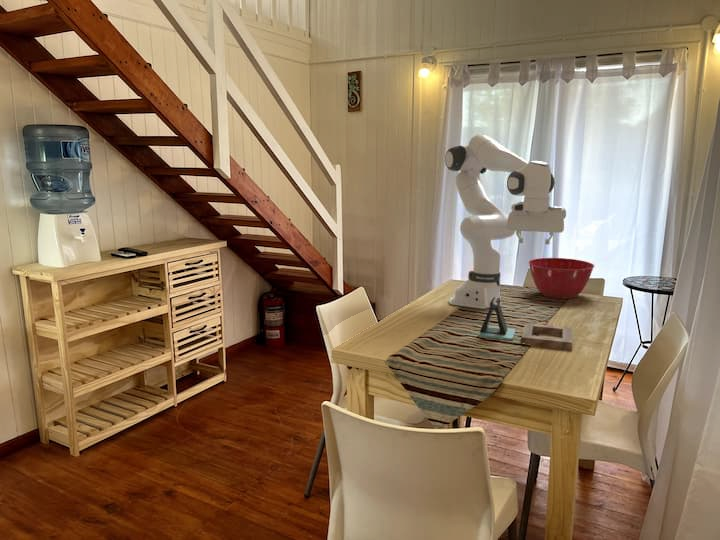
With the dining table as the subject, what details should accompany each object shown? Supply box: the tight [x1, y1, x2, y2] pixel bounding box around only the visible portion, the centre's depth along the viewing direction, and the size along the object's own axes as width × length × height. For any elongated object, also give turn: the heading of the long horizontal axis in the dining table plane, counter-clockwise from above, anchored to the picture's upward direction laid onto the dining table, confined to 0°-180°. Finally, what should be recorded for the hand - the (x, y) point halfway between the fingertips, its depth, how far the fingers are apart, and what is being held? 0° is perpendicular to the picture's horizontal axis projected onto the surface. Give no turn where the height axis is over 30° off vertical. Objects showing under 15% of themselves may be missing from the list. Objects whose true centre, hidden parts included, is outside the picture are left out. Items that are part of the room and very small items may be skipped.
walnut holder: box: [520, 322, 573, 351], centre depth 189 cm, size 16×18×2 cm
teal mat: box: [477, 325, 517, 341], centre depth 195 cm, size 12×12×1 cm
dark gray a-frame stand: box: [479, 297, 508, 335], centre depth 194 cm, size 9×6×12 cm, turn 68°
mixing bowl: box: [528, 257, 595, 300], centre depth 251 cm, size 28×28×16 cm
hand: (533, 243), depth 201 cm, fingers open, 8 cm apart
